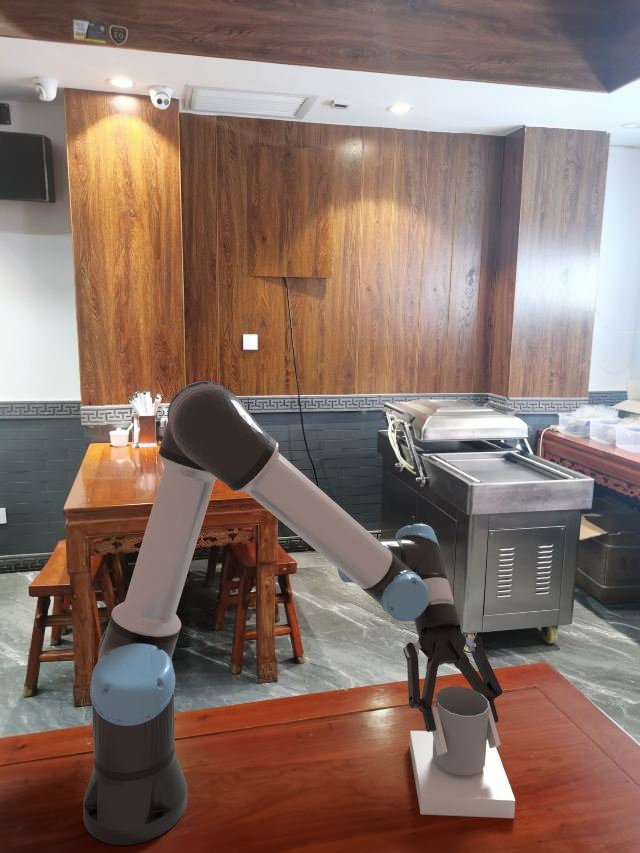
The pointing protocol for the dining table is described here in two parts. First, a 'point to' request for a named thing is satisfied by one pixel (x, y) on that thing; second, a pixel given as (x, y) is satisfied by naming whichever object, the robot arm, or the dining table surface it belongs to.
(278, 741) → the dining table surface
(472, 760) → the cup
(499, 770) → the raised board
